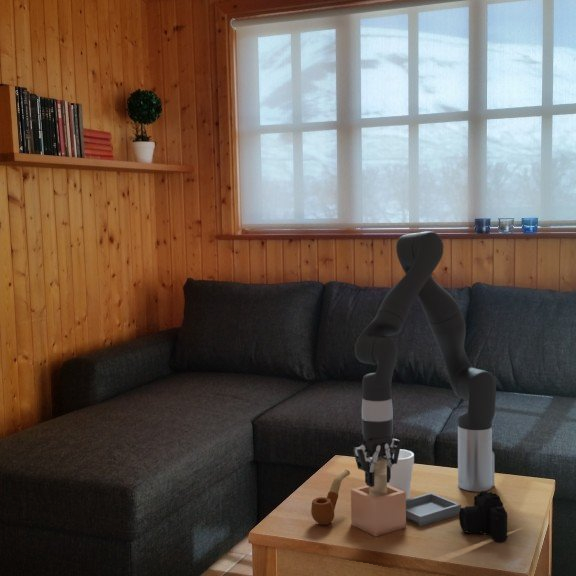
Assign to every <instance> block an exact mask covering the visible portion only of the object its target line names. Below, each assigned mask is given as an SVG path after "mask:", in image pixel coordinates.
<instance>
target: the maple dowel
mask: <svg viewBox="0 0 576 576" xmlns="http://www.w3.org/2000/svg"><path fill="white" fill-rule="evenodd" d="M370 458H371V459H372V457H370ZM369 465H370V462H369ZM373 472H374V486H373V487H370V486H369V495H371V496H373V497H376V498H377V497H381V496H384V495H387V459H385V458H382V457H378V458H377V462H376V463H375V465H374V470H373Z"/></svg>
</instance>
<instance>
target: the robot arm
mask: <svg viewBox="0 0 576 576" xmlns="http://www.w3.org/2000/svg"><path fill="white" fill-rule="evenodd" d="M395 249H396V254H397V258H398V261H399V263H400V266H401V268H402V269H403V271H404V273H405V275H404V276H402V278H401V279H400V280H399V281H398V282H397V283H396V284H395V285H394V286H393V287H392V288H391V289H390V290H389V291H388V292H387V294H386V295H385V297H384V298H383V301H382V303H380V306H379V308H378V311H377V313H376V315H375V317H374V318H373V319H372V321H370V323H369V324H368V325H367V326H366V327H365V329H364V330H363V331H362V332H361V333H360V335H359V336H358V338H357V339H356V342H355V346H354V355H355V358H356V359H357V361H359V363H362V364H366V365H367V364H369V365H375V366H376V365H377V368H376V371H375V372H370V373H366V374H365V375H363V378H362V381H361V382H362V383H361V384H362V385H361V387H362V388H361V389H362V391H361V392H362V403H361V435H362V436H363V440H362V443H361V445H360V446H358V447H356V446H355V447H353V449H352V451H353V455H354V458H355V462H356V467H357V469H358V470H361V471H363V472H364V482H365V485H367V486H370V487H373V486H374V472H373V470H374V465H375V463H376V462H377V458H378V457H382V458H385V459H387V483H388V482H390V478H391V467H392V465H393V464H396V463H397V461H398V456H399V451H400V449H401V446H402V441H401V440H399V439H397V438H395V437H394V438H392V435H394V434H393V431H394V430H393V427H394V426H393V402H392V379H393V375H394V371H395V367H396V363H397V360H398V356H399V348H398V345H397V343H396V341H395V340H394V339H393V338H392V337H390V336H395V335H397V334H399V333H400V332H401V330H402V328H403V326H404V323H405V322H406V319H407V316H408V315H409V312H410V310H411V309H412V308H411V307H413V304H414V302H415V300H416V299H418V301H419V303H420V306H421V308H422V310H423V312H424V315H425V318H426V321H427V323H428V327H429V328H430V330H431V333H432V335H433V337H434V339H435V342H436V344H437V346H438V349H439V352H440V354H441V357H442V359H443V362H444V366H445V368H446V373H447V375H448V379H449V382H450V387H451V388H452V391H453V393H454V395H456V397H458V398H459V399H462V400H464V401H467V403H468V406H467V411H466V412H463V413H460V414H459V415H458V416H457V486H458V488H460V489H462V490H465V491H469V492H481V491H485V492H488V491H489V490H491V489H492V488H493V487H494V486H495V452H494V451H493V420H494V418H495V415H496V402H497V401H496V399H497V383H496V380H495V379H496V378H495V377H494V375H493V374H492V373H491V372H489V371H487V370H484V369H479V368H476V367H474V366H473V365H472V364H471V362H470V360H469V357H468V355H467V353H466V350H465V349H466V348H465V343H466V342H465V341H466V334H467V333H466V332H467V326H466V325H467V324H466V321H465V318H464V315H463V314H462V311H461V308H460V306H459V304H458V302H457V300H456V299H455V298H454V297H453V296H452V295H451V294H450V293H449V292H448V291H447V290H446V289H445V288H443V286H441V284H439V283H438V282H437V281H436V280H435V278H434V277H433V275H432V274H433V272H434V271H435V270H436V268H437V267H438V265H439V264H440V262H441V259H442V257H443V255H444V244H443V240H442V238H441V236H440V235H439V234H438V233H436V232H435V231H421V232H414V233H407V234H404V235H402V236H400V237H399V238H398V240H397V242H396V247H395ZM389 449H390V450H389ZM393 454H394V457H393ZM370 457H372V459H371V458H370ZM369 462H370V465H369Z"/></svg>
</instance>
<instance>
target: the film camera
mask: <svg viewBox="0 0 576 576" xmlns="http://www.w3.org/2000/svg"><path fill="white" fill-rule="evenodd" d="M473 498H474V499H473V503H474V504H473V505H469V506H467V505H466V506H465V507H461V509H460V512H459V515H458V516H459V526H460V528H461V531H463V533H469V534H470V533H471V534H473V533H477V534H478V533H479V534H480V533H482V534H483V535H488V536H490V537H491V538H492V539H493V540H494V541H495V542H496V541H497V542H505V541H507V540H508V518H509V517H508V512H507V511H506V509H505V507H504V504H503V502H502V501H501V497H500V496H499V495H498V493H494V492H493V491H490V492H489V491H479V493H478V494H476V495H475V496H474V497H473Z"/></svg>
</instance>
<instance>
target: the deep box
mask: <svg viewBox="0 0 576 576" xmlns="http://www.w3.org/2000/svg"><path fill="white" fill-rule="evenodd" d="M350 515H351V516H350V518H351V519H350V520H351V523H350V524H351V525H352V526H354V527H356V528H358V529H360V530H362V531H363V532H366V533H368V534H369V535H372V536H373V537H379V536H382V535H386V534H389V533H393V532H396V531H399V530H403V529H405V528H407V520H406V492H404V491H402V490H400V489H397V488H395V487H392V486H390V485H387V495H384V496H381V497H377V498H376V497H373V496H371V495H369V486H367V484H365V485H363V486H359V487H354V488H351V489H350Z"/></svg>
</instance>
